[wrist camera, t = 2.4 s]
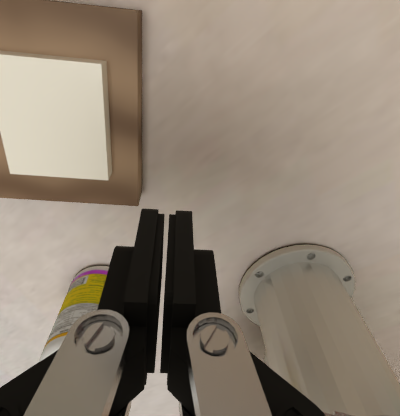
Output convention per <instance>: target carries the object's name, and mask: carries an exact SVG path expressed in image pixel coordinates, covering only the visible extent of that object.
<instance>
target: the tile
mask: <svg viewBox="0 0 400 416" xmlns="http://www.w3.org/2000/svg"><path fill="white" fill-rule="evenodd" d="M0 133H1V137H2V141H3V146H4V150H5V154H6V158H7V163H8V167H9V171H10V174H19V175H34V176H49V177H64V178H79V179H94V180H109V178H110V176H111V173H112V158H111V139H110V119H109V100H108V81H107V62H106V61H103V60H93V59H83V58H72V57H62V56H52V55H41V54H31V53H21V52H10V51H0Z"/></svg>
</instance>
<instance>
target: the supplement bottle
mask: <svg viewBox="0 0 400 416" xmlns="http://www.w3.org/2000/svg"><path fill="white" fill-rule="evenodd" d="M108 269H109V267H108V266H93V267H89V268H86V269H84V270H82V271H81V272H79V273H78V274H77V275H76V276H75V278H74V279H73V281H72V283H71V285H70V288H69V290H68V292H67V295H66V297H65V300H64V302H63V304H62V307H61V309H60V312H59V314H58V317H57V319H56V321H55V324H54V326H53V328H52V331H51V333H50V336H49V338H48V340H47V343H46V345H45V347H44V350H43V352H42V354H41V357H40V361H42V360H43V359H45V358H46V357H48V356H49V355H51V354H52V353H54V352H55V351H57V350H59V348H60V346H61V344H62V342H63V340H64V339H65V337H66V335H67V333H68V331H69V329H70V328H71V326H72V325H73V324H74V322H75V321H76V320H78V319H79V318H80V317H81V316H83V315H85V314H87V313H89V312H91V311H96V310H97V309H98V305H99V302H100V298H101V294H102V291H103V287H104V284H105V280H106V277H107V273H108Z"/></svg>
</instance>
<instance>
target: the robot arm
mask: <svg viewBox="0 0 400 416" xmlns="http://www.w3.org/2000/svg"><path fill="white" fill-rule="evenodd" d="M163 235H164V214H158V210H157V209H142V211H141V216H140V221H139V226H138V231H137V236H136V241H135V246H134V247H125V246H116V247H115V249H114V252H113V255H112V259H111V262H110V266H109V269H108V273H107V277H106V280H105V284H104V287H103V291H102V294H101V298H100V302H99V305H98V309H97V310H96V311H91V312H89V313H87V314H85V315H83V316H81V317H80V318H79V319H78V320H76V321H75V322H74V324H73V325H72V326H71V328H70V329H69V331H68V333H67V335H66V337H65V339H64V340H63V342H62V344H61V346H60V348H59V350H57V351H55V352H54V353H52V354H51V355H49V356H48V357H46V358H45V359H43V360H42V361H40V362H39V363H37V364H36V365H34V366H33V367H31V368H30V369H28V370H26V371H25V372H23V373H22V374H20V375H19V376H17V377H16V378H14V379H13V380H11V381H10V382H8V383H7V384H5V385H4V386H2V387H0V416H128V415H129V411H130V408H131V400H133V399H134V398H135V397H136V396H137V395H138V394H139V393H140V392H141V391H143V390H144V385H146V379H147V373H154V370H155V357H156V344H157V331H158V318H159V305H160V292H161V279H162V258H163ZM354 289H355V277H354V273H353V271H352V269H351V267H350V266H349V264H348V263H347V261H346V260H345V259H344V258H343V257H342V256H341V255H340V254H339V253H337V252H335V251H333V250H331V249H329V248H326V247H322V246H318V245H308V244H307V245H294V246H289V247H285V248H282V249H279V250H276V251H273V252H271V253H269V254H268V255H266V256H264V257H262V258H261V259H260V260H258V261H257V262H256V263H254V264H253V265H252V266H251V267H250V268H249V270H248V271H247V272H246V274H245V275H244V277H243V278H242V281H241V284H240V286H239V300H240V305H241V308H242V311H243V312H244V314H245V315H246V317H247V318H248V319H249V320H250V321H252V322H253V323H255V324H256V325H258V326H260V328H261V333H262V337H263V341H264V345H265V350H266V353H265V356H264V361H265V363H266V364H267V365H268V366H269V367H268V366H267V365H266V364H265V363H263V362H262V361H261V360H260V359H258V358H257V357H256V356H255V355H253V354H252V353H251V352H250V351H249V349H248V346H247V343H246V340H245V338H244V335H243V332H242V330H241V328H240V327H239V325H238V324H237V323H236V322H235V321H234V320H233V319H231V318H230V317H228V316H226V315H224V314H221V309H220V301H219V293H218V285H217V277H216V269H215V261H214V253H213V251H212V250H194V245H193V223H192V211H176V215H171V214H170V215H169V230H168V247H167V263H166V279H165V295H164V312H163V331H162V350H161V369H160V373H168V375H167V385H168V390H169V391H170V392H171V393H172V394H173V396H174V397H175V398H176V399H177V400H178V401H179V412H180V416H400V383H399V381H398V379H397V378H396V376H395V374H394V372H393V371H392V369H391V367H390V366H389V364H388V362H387V360H386V359H385V357H384V355H383V353H382V352H381V350H380V348H379V346H378V345H377V343H376V341H375V339H374V338H373V336H372V334H371V332H370V331H369V329H368V327H367V325H366V324H365V322H364V320H363V319H362V317H361V315H360V313H359V312H358V310H357V308H356V306H355V305H354V303H353V301H352V299H351V297H352V295H353V292H354Z"/></svg>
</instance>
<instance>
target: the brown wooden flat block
mask: <svg viewBox="0 0 400 416" xmlns="http://www.w3.org/2000/svg"><path fill="white" fill-rule="evenodd" d="M0 51H10V52H21V53H31V54H41V55H52V56H62V57H72V58H83V59H93V60H103V61H106V62H107V81H108V100H109V119H110V139H111V158H112V173H111V176H110V178H109V180H94V179H79V178H64V177H49V176H34V175H19V174H10V171H9V167H8V163H7V158H6V154H5V150H4V146H3V141H2V137H1V133H0V198H15V199H31V200H47V201H64V202H80V203H97V204H113V205H129V206H138V205H139V201H140V197H141V192H142V11H141V10H132V9H123V8H114V7H104V6H95V5H86V4H77V3H68V2H59V1H50V0H0Z"/></svg>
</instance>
